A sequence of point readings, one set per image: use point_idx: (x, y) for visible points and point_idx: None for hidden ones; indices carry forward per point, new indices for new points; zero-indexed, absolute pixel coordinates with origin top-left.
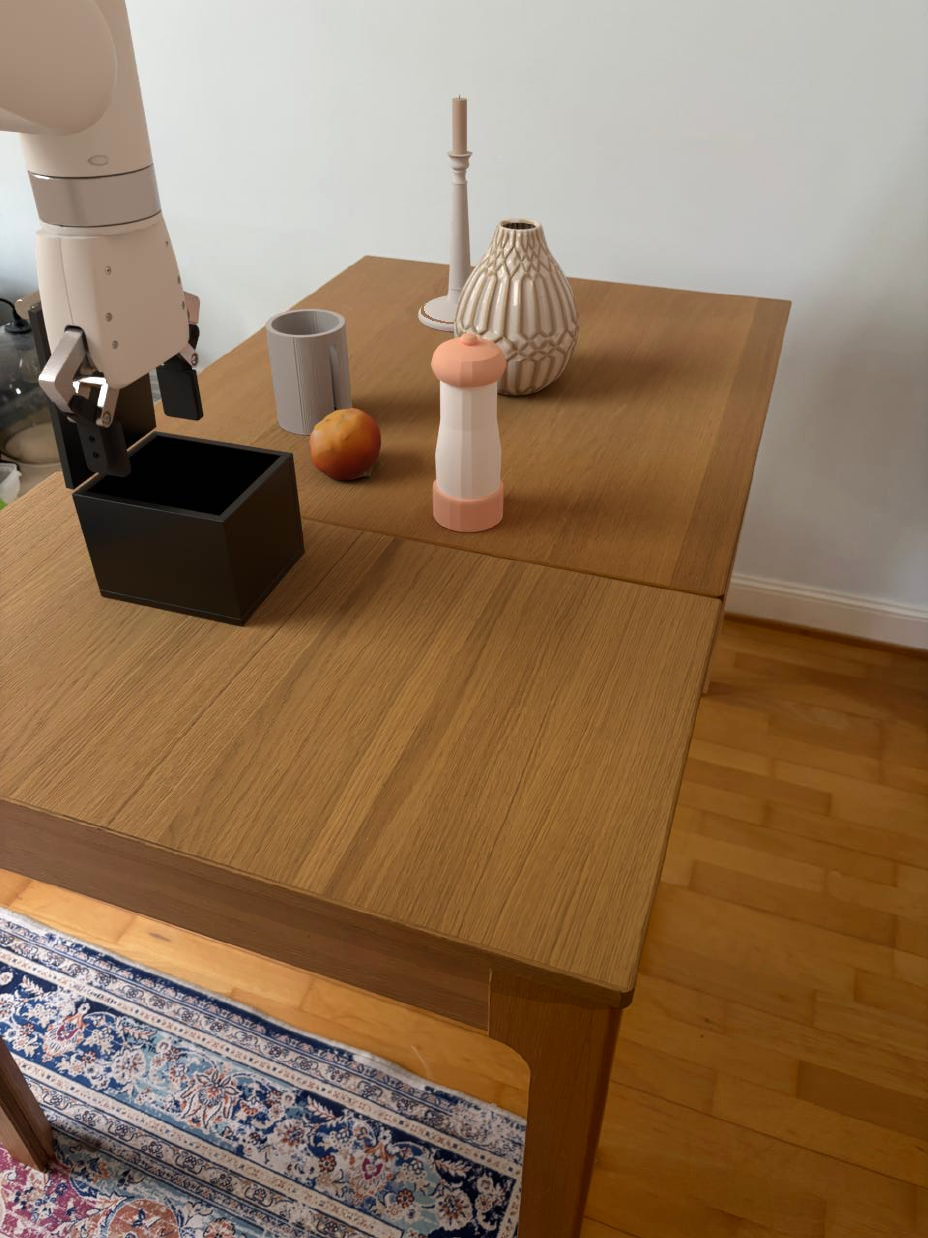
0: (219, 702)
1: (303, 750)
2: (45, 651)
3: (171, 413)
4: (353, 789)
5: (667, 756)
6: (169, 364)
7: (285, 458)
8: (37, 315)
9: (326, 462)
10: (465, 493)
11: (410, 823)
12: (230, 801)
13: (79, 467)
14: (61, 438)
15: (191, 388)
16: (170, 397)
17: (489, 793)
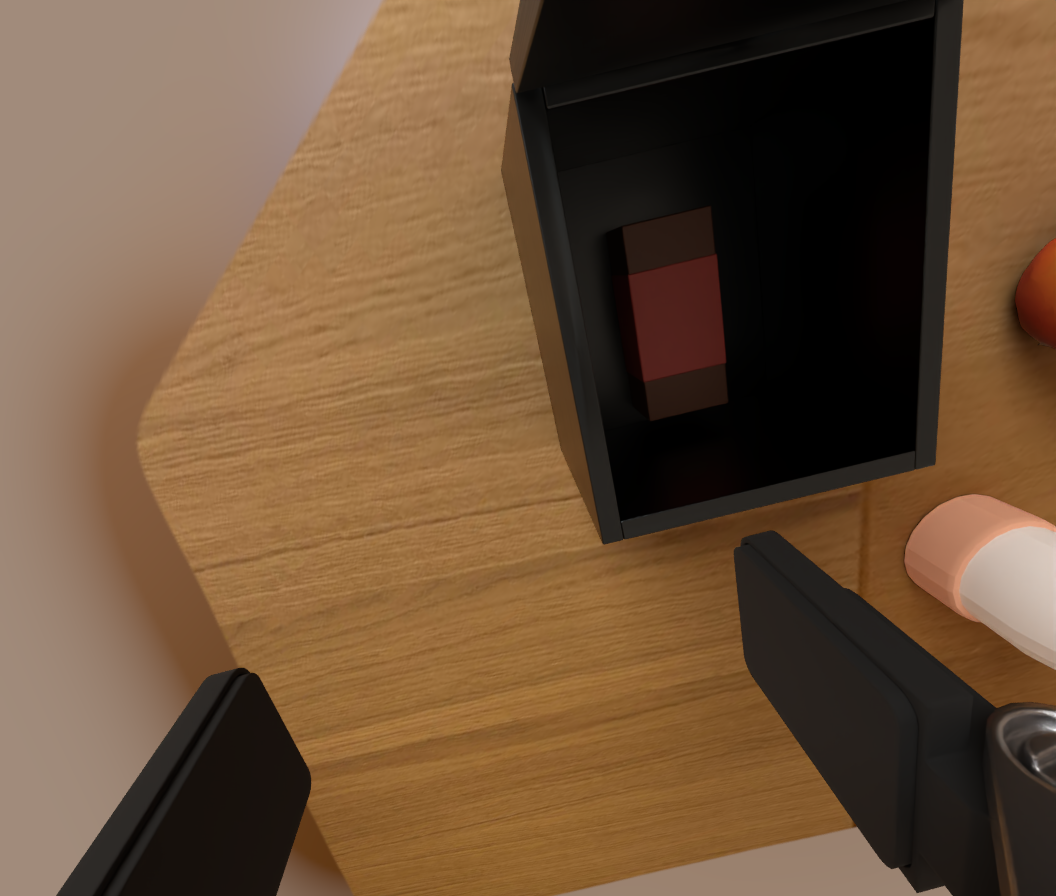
0: (419, 532)
1: (417, 657)
2: (335, 214)
3: (741, 581)
4: (405, 723)
5: (603, 879)
6: (949, 824)
7: (903, 470)
8: None
9: (1047, 291)
10: (970, 603)
11: (404, 779)
12: (310, 646)
13: (570, 65)
14: (534, 8)
15: (833, 790)
16: (787, 638)
17: (478, 806)
